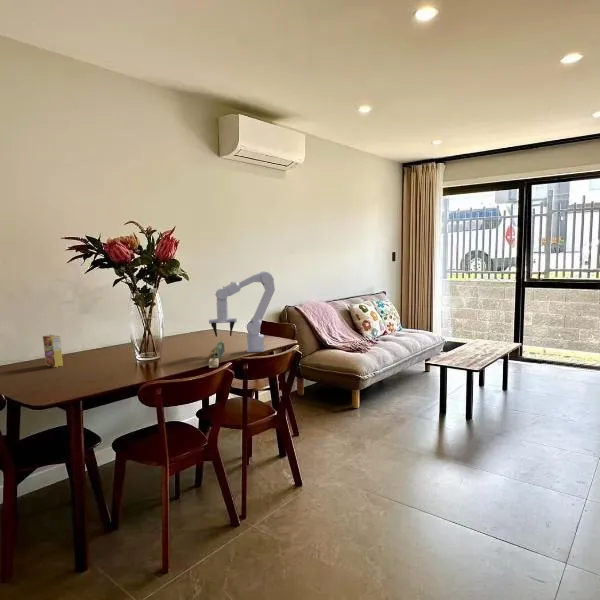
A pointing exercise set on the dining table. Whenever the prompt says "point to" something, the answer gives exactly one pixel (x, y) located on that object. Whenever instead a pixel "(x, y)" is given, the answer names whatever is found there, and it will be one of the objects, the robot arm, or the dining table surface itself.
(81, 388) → the dining table surface
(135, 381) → the dining table surface
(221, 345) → the handheld radio
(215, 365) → the taped cardboard parcel
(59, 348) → the candy box
